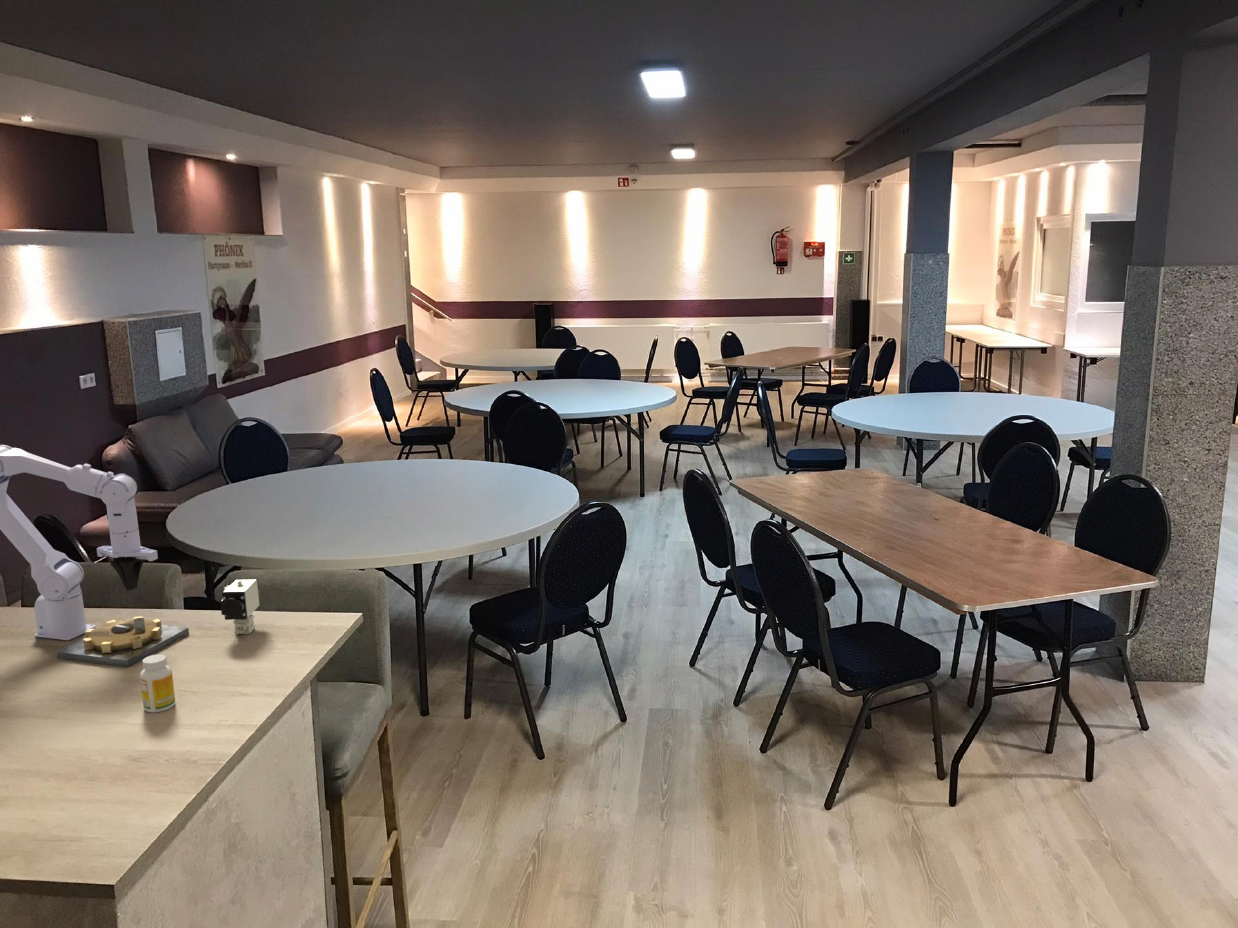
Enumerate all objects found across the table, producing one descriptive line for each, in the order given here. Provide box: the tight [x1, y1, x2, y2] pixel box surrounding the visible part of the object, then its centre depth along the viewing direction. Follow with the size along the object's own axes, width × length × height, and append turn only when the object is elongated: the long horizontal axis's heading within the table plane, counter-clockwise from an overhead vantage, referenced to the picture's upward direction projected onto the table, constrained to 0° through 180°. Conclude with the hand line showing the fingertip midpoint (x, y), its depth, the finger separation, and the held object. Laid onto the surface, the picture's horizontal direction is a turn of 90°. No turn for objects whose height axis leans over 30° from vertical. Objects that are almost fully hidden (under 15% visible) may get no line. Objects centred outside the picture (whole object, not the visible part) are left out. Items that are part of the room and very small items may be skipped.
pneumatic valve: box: [219, 578, 261, 636], centre depth 213 cm, size 6×12×12 cm, turn 2°
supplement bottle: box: [139, 653, 176, 713], centre depth 178 cm, size 5×5×10 cm
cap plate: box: [55, 624, 190, 668], centre depth 207 cm, size 18×18×2 cm
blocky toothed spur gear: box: [82, 616, 162, 653], centre depth 207 cm, size 15×15×5 cm
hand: (131, 588), depth 215 cm, fingers closed
